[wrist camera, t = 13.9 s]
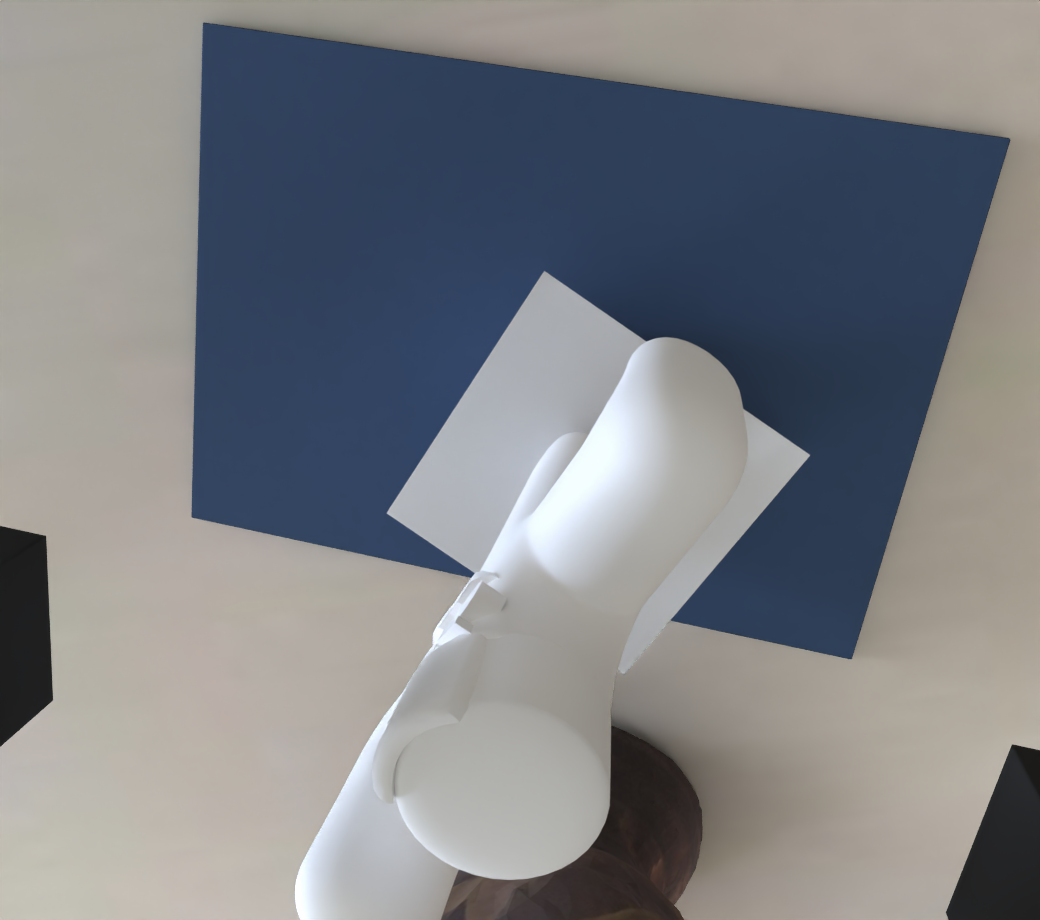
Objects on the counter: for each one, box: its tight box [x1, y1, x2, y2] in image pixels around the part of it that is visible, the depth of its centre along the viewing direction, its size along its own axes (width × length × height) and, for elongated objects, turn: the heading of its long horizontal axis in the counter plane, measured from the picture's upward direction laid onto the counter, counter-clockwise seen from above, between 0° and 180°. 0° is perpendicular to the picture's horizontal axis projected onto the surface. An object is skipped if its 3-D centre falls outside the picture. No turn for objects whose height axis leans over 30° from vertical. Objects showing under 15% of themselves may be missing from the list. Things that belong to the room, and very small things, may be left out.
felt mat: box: [192, 23, 1010, 659], centre depth 25 cm, size 14×20×1 cm
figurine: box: [295, 271, 810, 920], centre depth 18 cm, size 7×9×15 cm
